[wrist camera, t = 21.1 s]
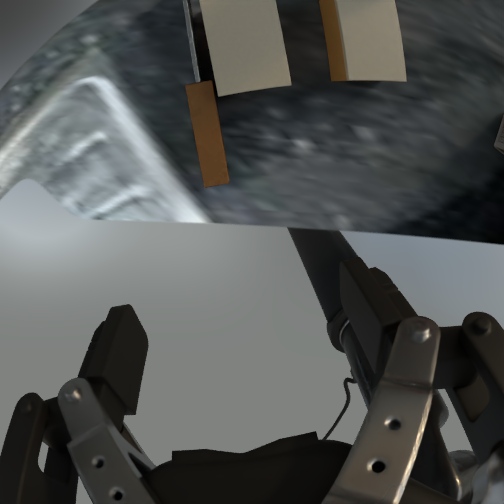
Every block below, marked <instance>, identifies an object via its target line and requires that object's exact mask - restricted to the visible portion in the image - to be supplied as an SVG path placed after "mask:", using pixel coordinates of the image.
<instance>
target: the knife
mask: <svg viewBox="0 0 504 504" xmlns="http://www.w3.org/2000/svg"><path fill="white" fill-rule="evenodd" d="M183 6H184V13H185V19H186V26H187V32H188V39H189V45H190V51H191V57H192V63H193V69H194V75H195V81H196V83H194V84H189V85H186V86H185V87H186V93H187V98H188V104H189V110H190V115H191V121H192V126H193V131H194V137H195V142H196V147H197V152H198V158H199V163H200V168H201V173H202V178H203V183H204V187H205V188H206V187H211V186H217V185H222V184H228V183H229V172H228V166H227V160H226V155H225V149H224V143H223V137H222V131H221V125H220V119H219V113H218V107H217V101H216V95H215V89H214V83H213V81H212V80H209V81H204V82H203V78H202V72H201V66H200V59H199V53H198V47H197V41H196V34H195V28H194V22H193V15H192V9H191V2H190V0H183Z"/></svg>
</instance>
